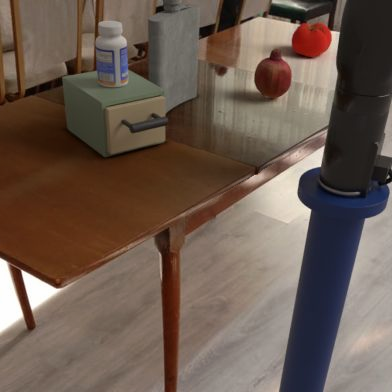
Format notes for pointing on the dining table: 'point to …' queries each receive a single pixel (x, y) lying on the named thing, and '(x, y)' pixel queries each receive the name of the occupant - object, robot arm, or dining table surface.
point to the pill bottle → (111, 55)
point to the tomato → (311, 39)
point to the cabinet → (100, 105)
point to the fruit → (273, 75)
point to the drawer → (135, 124)
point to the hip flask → (174, 51)
